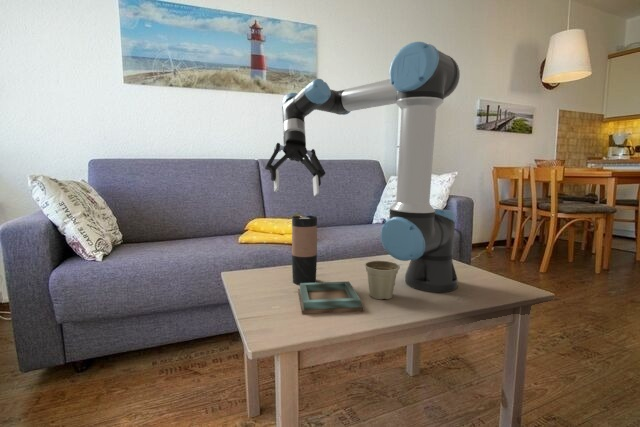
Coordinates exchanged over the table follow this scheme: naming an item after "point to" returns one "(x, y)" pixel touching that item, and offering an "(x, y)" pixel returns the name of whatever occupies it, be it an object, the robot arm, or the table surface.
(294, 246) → the travel mug
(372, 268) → the flower pot
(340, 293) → the coaster dock
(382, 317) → the table surface
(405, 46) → the robot arm
